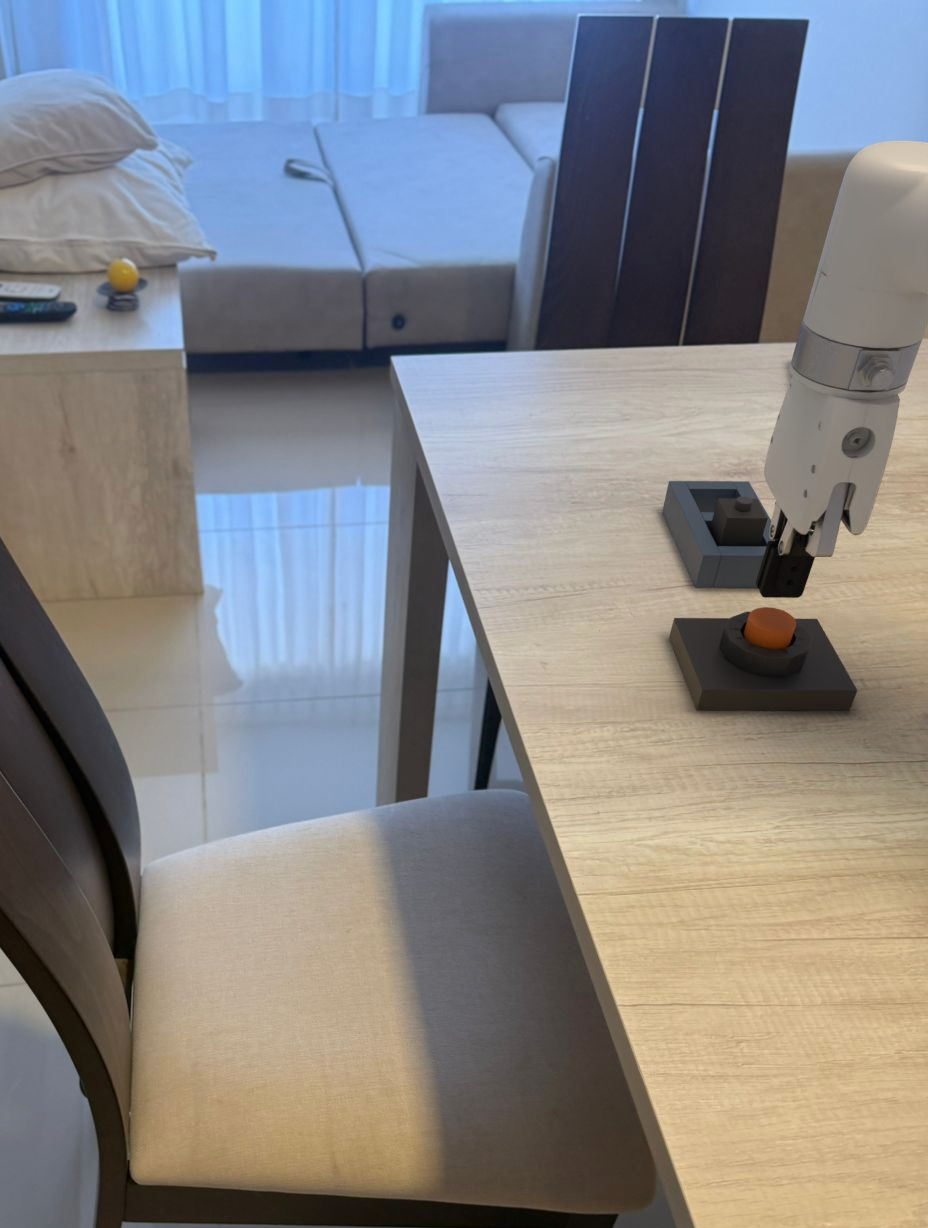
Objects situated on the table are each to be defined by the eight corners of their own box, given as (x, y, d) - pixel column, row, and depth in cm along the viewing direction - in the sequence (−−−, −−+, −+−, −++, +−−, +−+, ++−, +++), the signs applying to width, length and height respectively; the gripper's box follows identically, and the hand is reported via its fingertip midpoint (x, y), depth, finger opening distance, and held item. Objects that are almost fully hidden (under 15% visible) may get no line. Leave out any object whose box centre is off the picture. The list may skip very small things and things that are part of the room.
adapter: (740, 513, 114) (749, 481, 112) (781, 589, 104) (791, 555, 101) (661, 513, 114) (668, 480, 112) (694, 589, 104) (703, 554, 101)
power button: (782, 625, 93) (788, 607, 92) (796, 651, 90) (802, 632, 89) (738, 625, 93) (743, 606, 92) (750, 650, 90) (755, 632, 89)
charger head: (740, 557, 108) (759, 490, 103) (750, 577, 105) (770, 509, 101) (702, 556, 108) (719, 489, 103) (711, 577, 105) (729, 509, 101)
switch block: (809, 640, 98) (823, 599, 95) (849, 712, 90) (865, 671, 88) (668, 639, 98) (678, 599, 95) (696, 712, 90) (707, 670, 88)
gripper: (953, 403, 71) (858, 648, 84) (870, 315, 82) (797, 543, 95) (832, 402, 71) (755, 647, 84) (766, 314, 82) (706, 542, 95)
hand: (777, 591), depth 89 cm, fingers closed
